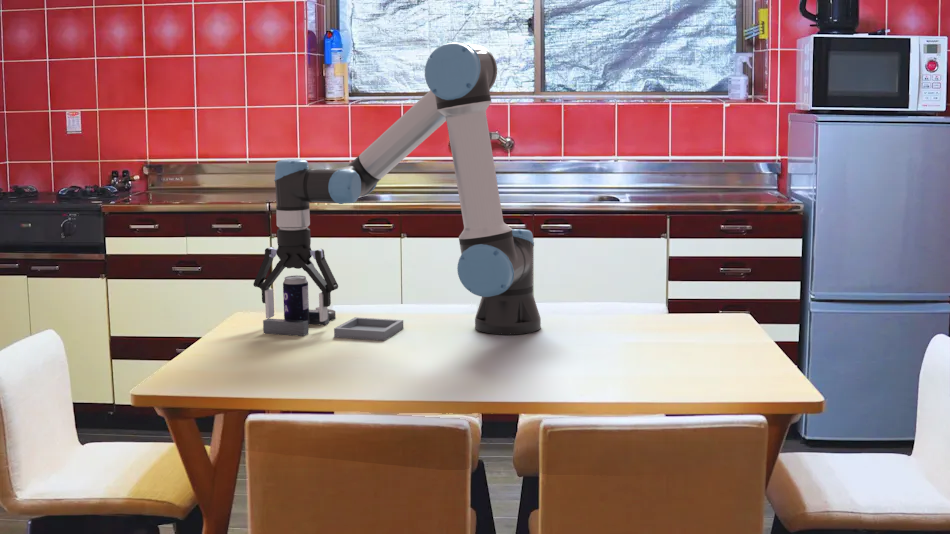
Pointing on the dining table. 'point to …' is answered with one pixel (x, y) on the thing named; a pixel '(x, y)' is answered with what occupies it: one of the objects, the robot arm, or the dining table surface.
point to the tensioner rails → (295, 324)
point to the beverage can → (296, 298)
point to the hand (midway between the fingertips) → (296, 318)
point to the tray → (368, 328)
